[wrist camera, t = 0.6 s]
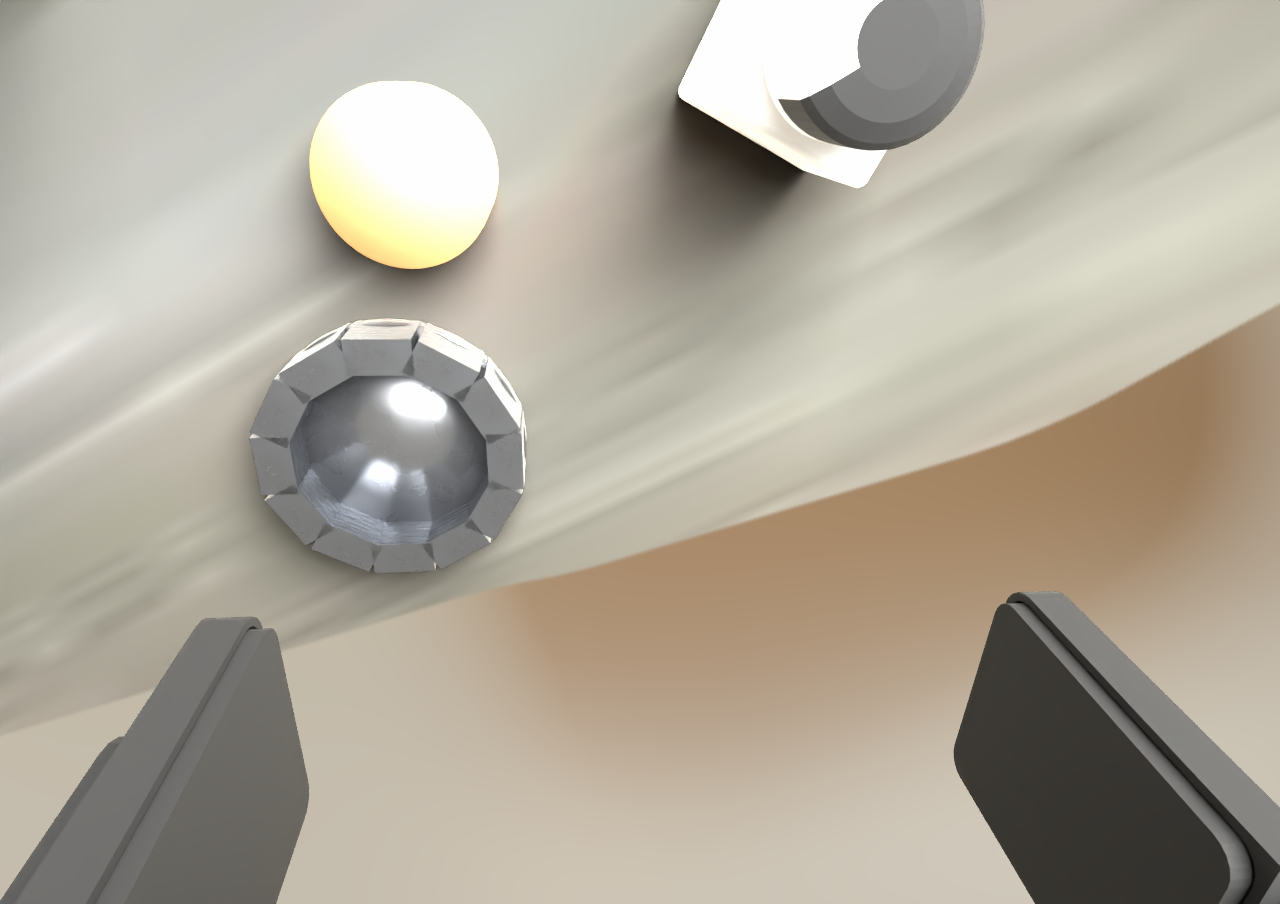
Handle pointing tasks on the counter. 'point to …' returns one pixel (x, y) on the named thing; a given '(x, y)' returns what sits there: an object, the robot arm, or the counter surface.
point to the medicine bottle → (835, 76)
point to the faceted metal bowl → (391, 446)
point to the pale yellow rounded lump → (404, 173)
